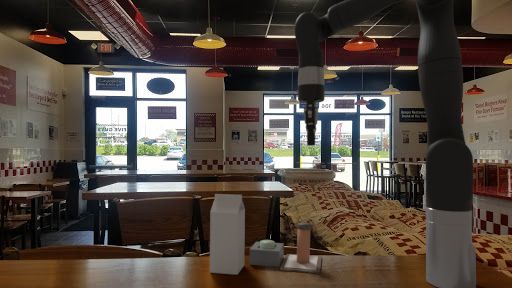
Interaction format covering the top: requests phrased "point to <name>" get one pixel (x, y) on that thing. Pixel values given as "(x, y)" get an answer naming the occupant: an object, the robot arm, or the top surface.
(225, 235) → the milk carton
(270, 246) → the button
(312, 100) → the robot arm
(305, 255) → the pink capped bottle
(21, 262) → the top surface
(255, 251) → the button box
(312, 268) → the picture frame
